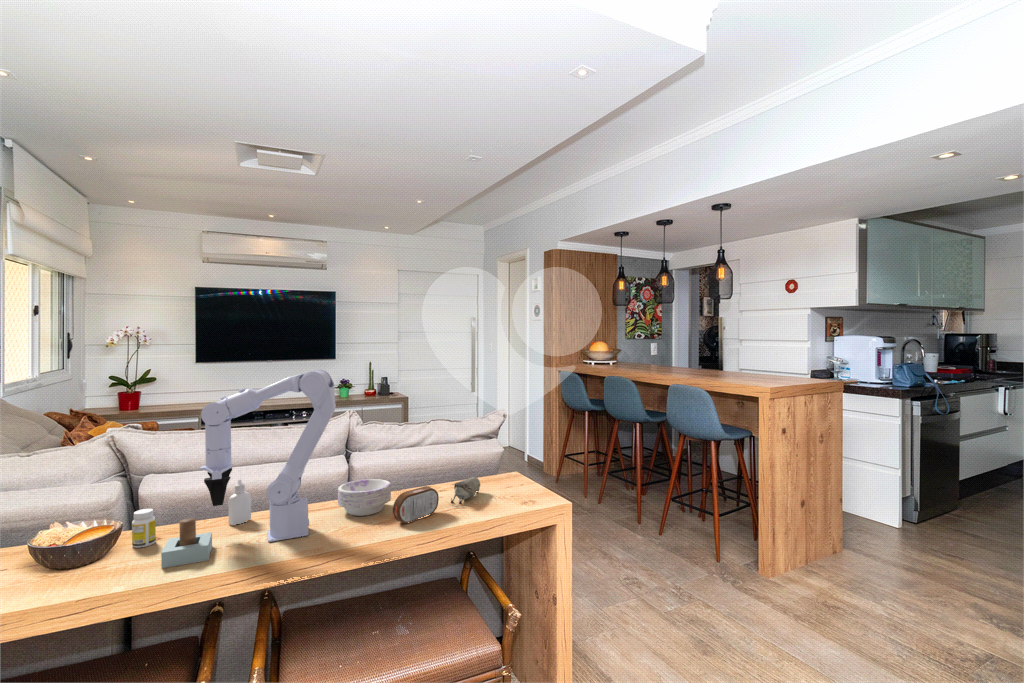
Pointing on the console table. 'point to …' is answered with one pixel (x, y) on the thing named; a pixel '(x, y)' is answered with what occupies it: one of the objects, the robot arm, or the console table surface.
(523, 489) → the console table surface
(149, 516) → the supplement bottle
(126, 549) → the console table surface
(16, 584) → the console table surface
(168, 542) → the socket block
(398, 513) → the tin
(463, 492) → the decorative bird
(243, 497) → the eye dropper bottle
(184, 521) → the pin
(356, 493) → the paper bowls
